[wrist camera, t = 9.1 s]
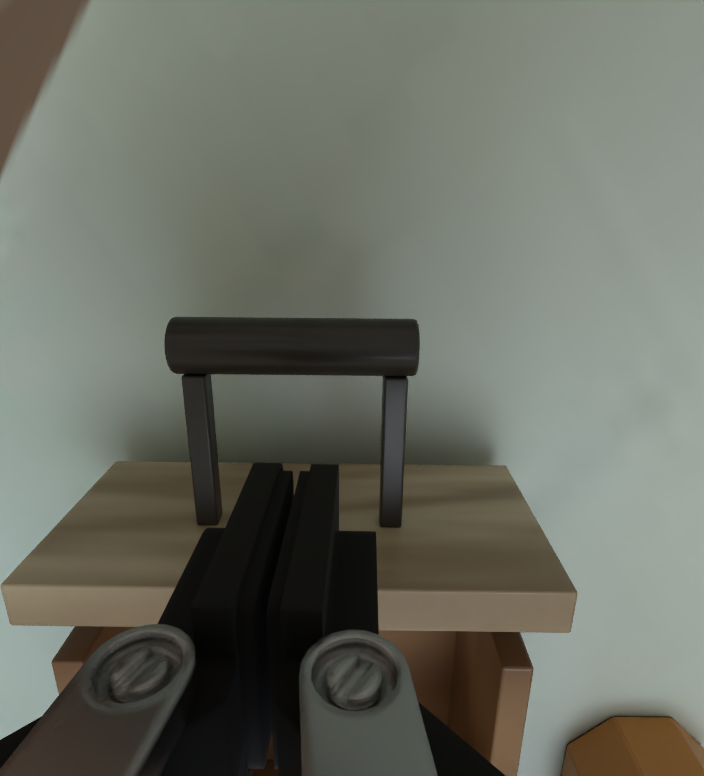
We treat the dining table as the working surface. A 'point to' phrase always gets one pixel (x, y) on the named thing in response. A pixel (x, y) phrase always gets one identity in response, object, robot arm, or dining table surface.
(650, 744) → the donut
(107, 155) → the dining table surface
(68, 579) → the drawer
